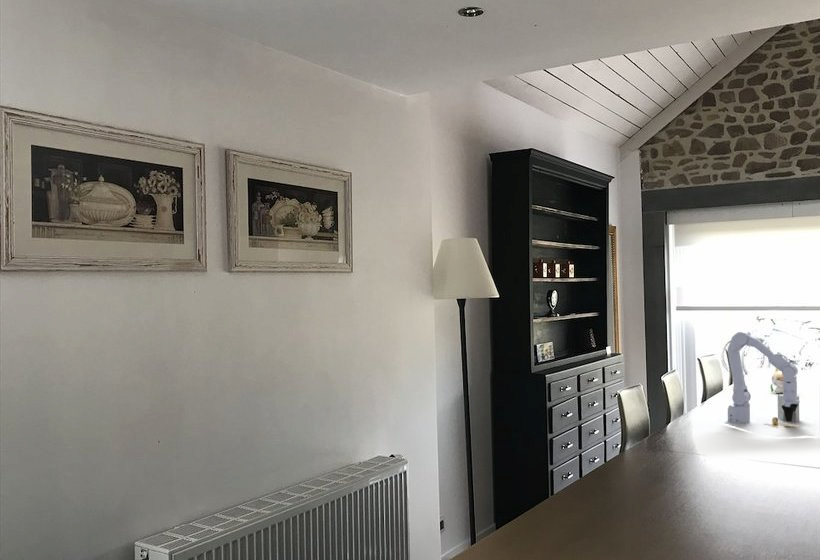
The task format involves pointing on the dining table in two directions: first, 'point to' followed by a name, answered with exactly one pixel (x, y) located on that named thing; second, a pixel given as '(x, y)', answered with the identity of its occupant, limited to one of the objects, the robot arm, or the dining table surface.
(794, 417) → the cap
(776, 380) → the kitten
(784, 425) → the board
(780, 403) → the supplement box
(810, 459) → the dining table surface
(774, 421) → the stud
